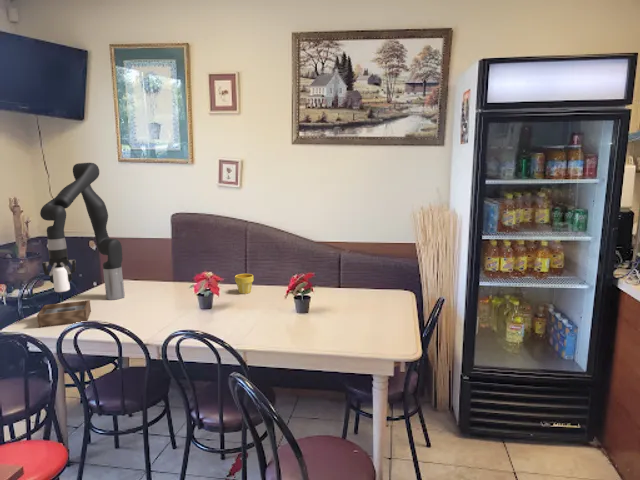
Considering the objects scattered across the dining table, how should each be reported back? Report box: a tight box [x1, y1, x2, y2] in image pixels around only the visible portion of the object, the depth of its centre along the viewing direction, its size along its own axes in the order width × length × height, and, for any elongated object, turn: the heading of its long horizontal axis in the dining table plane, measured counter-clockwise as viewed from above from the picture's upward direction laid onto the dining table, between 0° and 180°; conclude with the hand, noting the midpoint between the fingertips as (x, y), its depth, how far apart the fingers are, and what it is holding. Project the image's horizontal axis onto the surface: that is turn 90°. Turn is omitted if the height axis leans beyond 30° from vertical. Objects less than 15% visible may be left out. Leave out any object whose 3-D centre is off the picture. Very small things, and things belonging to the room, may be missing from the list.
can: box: [53, 267, 71, 293], centre depth 214 cm, size 6×6×12 cm
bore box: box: [36, 299, 92, 329], centre depth 217 cm, size 20×16×6 cm
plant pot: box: [234, 273, 254, 295], centre depth 256 cm, size 10×10×10 cm
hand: (61, 282), depth 214 cm, fingers closed on can, 6 cm apart
